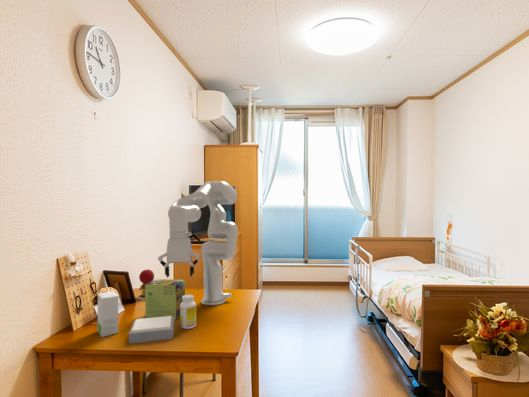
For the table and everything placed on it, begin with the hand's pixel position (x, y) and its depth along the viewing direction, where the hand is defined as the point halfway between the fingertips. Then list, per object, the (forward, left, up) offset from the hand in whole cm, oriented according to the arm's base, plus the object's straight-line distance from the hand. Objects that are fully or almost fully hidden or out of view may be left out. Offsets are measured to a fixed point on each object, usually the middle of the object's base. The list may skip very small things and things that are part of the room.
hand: (179, 276), depth 140 cm
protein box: (+7, -17, -22) cm, 28 cm away
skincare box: (+29, -3, -22) cm, 36 cm away
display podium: (+11, +4, -22) cm, 24 cm away
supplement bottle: (-3, 0, -22) cm, 22 cm away
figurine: (+19, -49, -22) cm, 57 cm away
